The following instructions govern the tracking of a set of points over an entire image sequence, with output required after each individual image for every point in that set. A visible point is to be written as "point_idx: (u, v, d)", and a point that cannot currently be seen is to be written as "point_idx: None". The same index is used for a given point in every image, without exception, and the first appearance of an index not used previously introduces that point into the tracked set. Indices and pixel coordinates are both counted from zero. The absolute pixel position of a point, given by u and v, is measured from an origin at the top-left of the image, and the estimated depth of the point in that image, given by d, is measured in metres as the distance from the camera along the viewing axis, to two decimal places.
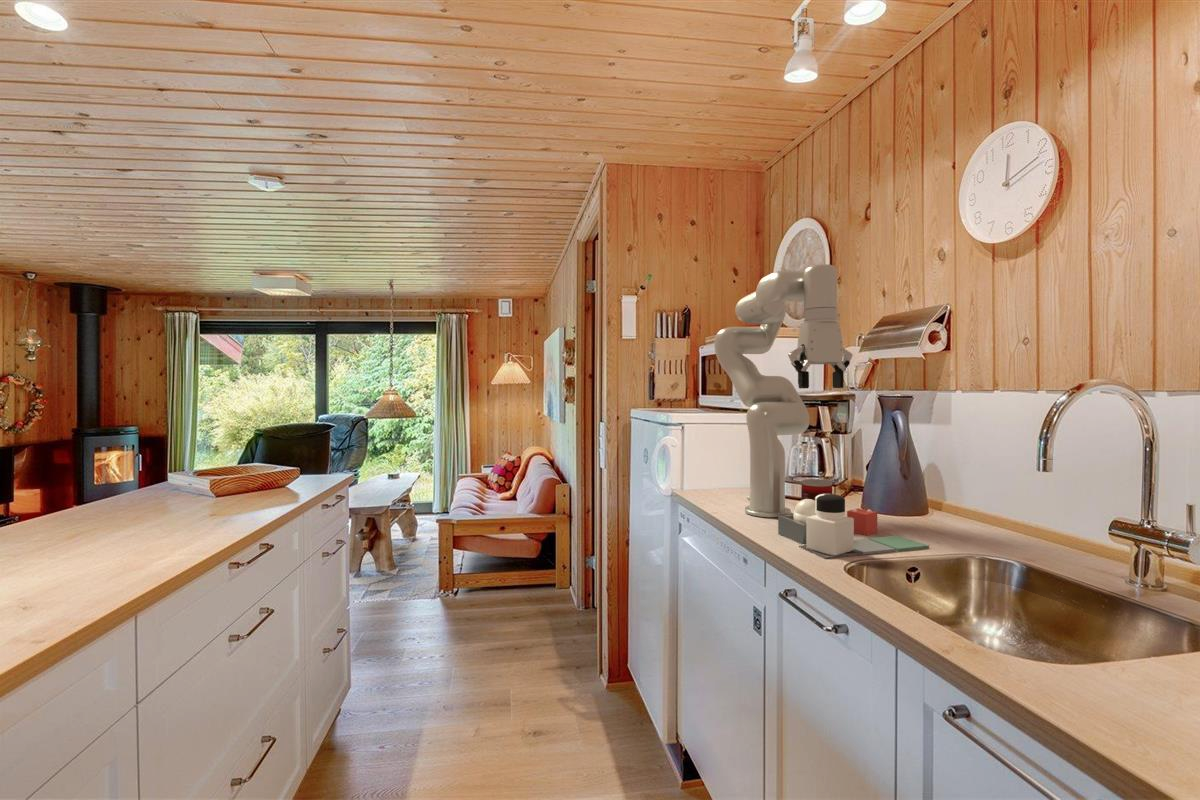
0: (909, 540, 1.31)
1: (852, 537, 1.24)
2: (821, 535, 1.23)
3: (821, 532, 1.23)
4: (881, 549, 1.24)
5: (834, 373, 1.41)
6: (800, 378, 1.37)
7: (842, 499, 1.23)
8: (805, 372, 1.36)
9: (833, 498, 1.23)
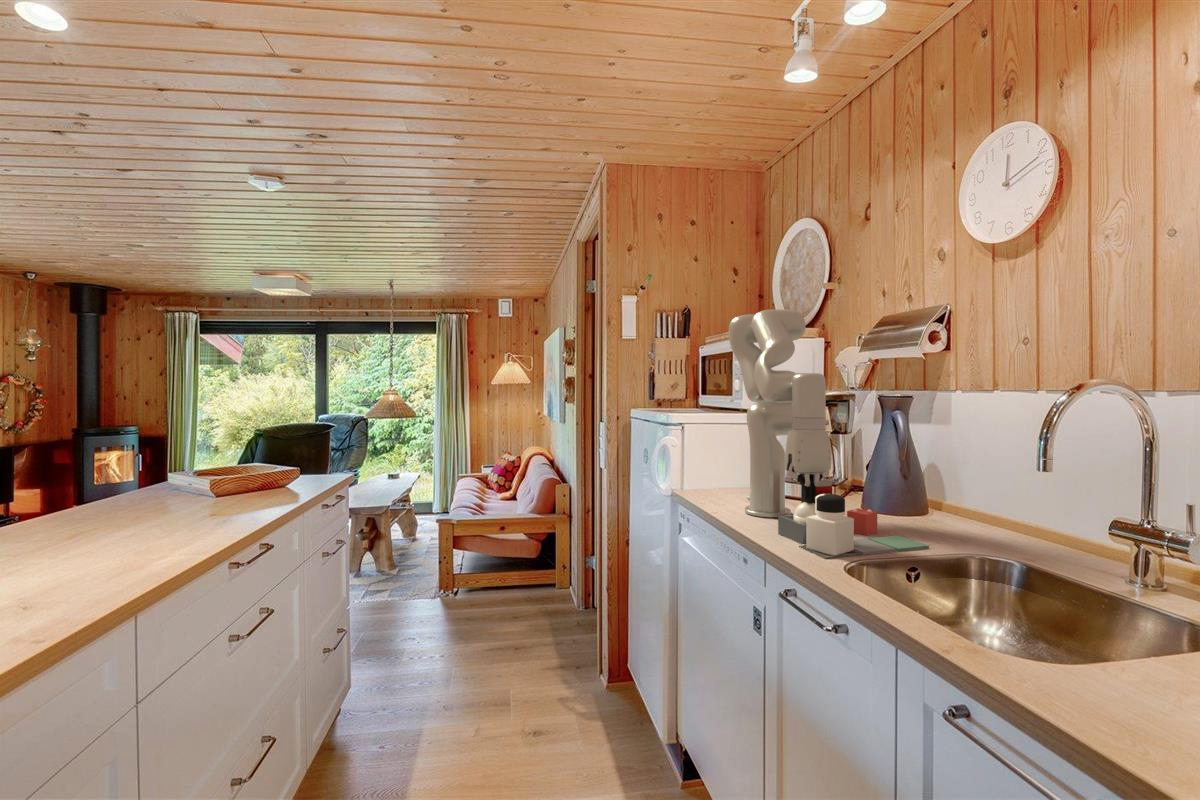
0: (909, 540, 1.31)
1: (852, 537, 1.24)
2: (821, 535, 1.23)
3: (821, 532, 1.23)
4: (881, 549, 1.24)
5: None
6: (803, 492, 1.36)
7: (842, 499, 1.23)
8: (808, 487, 1.35)
9: (833, 498, 1.23)
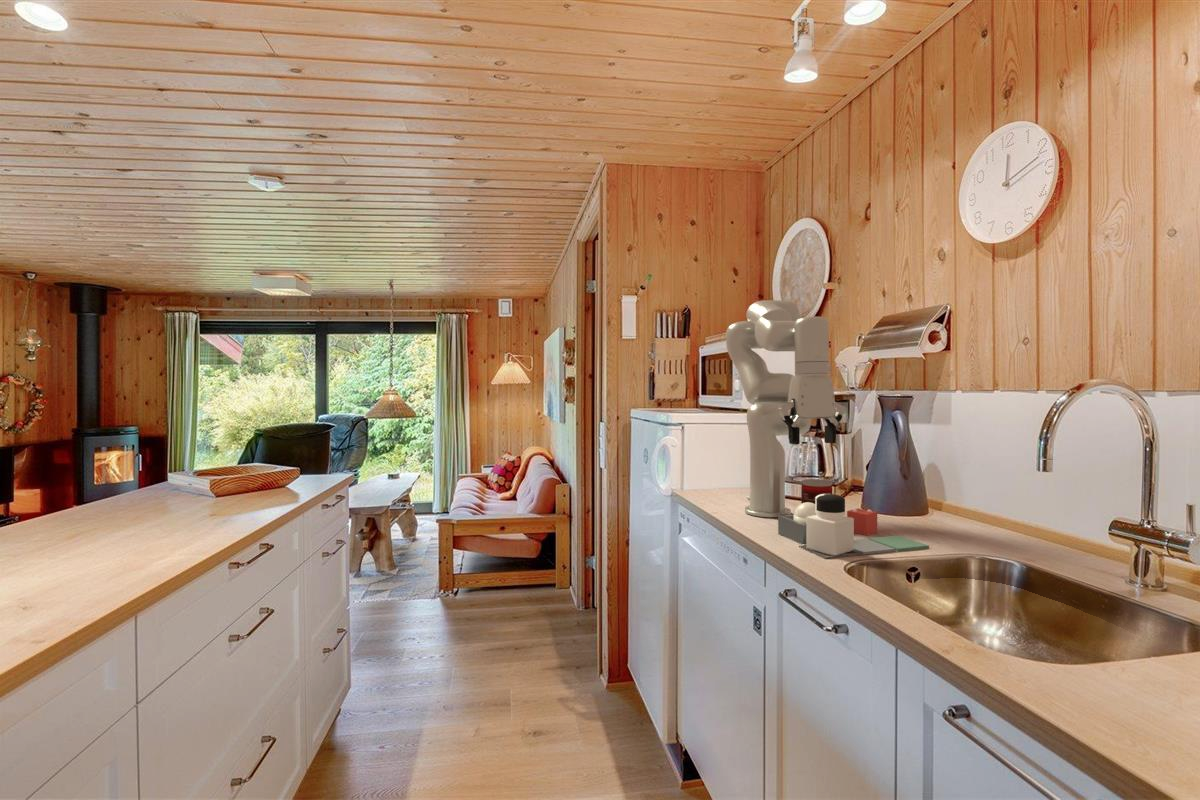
0: (909, 540, 1.31)
1: (852, 537, 1.24)
2: (821, 535, 1.23)
3: (821, 532, 1.23)
4: (881, 549, 1.24)
5: (826, 427, 1.36)
6: (790, 434, 1.32)
7: (842, 499, 1.23)
8: (796, 428, 1.32)
9: (833, 498, 1.23)
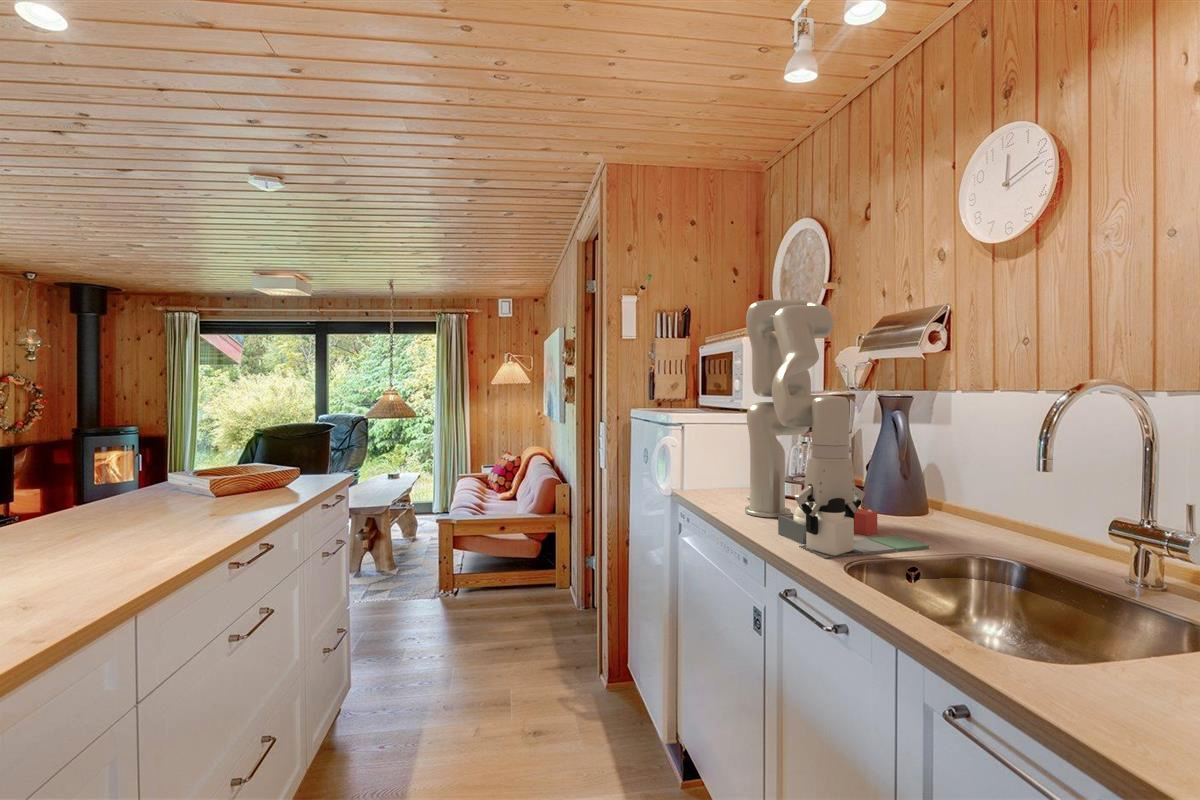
0: (909, 540, 1.31)
1: (852, 537, 1.24)
2: (821, 535, 1.23)
3: (821, 532, 1.23)
4: (881, 549, 1.24)
5: None
6: (808, 523, 1.24)
7: (842, 499, 1.23)
8: (814, 517, 1.23)
9: None
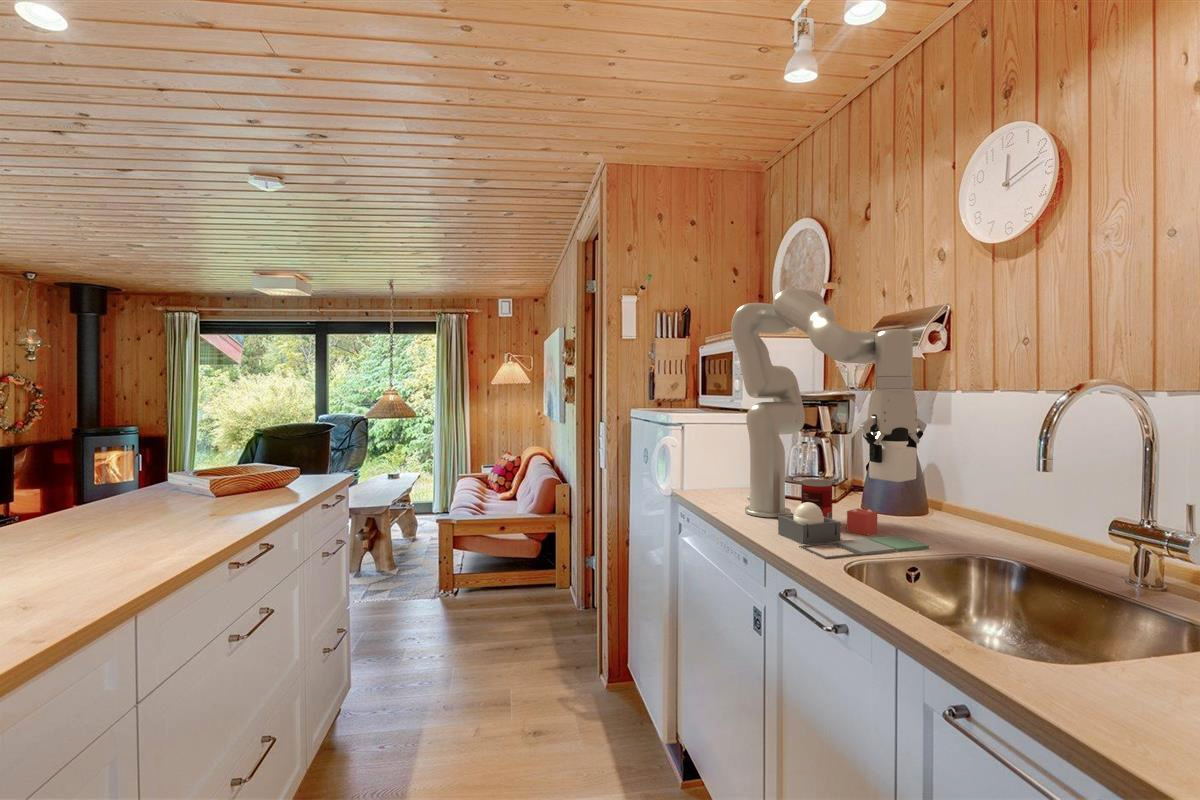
0: (909, 540, 1.31)
1: (915, 466, 1.28)
2: (885, 463, 1.27)
3: (885, 461, 1.27)
4: (881, 549, 1.24)
5: None
6: (872, 451, 1.28)
7: (906, 429, 1.27)
8: (878, 445, 1.27)
9: None
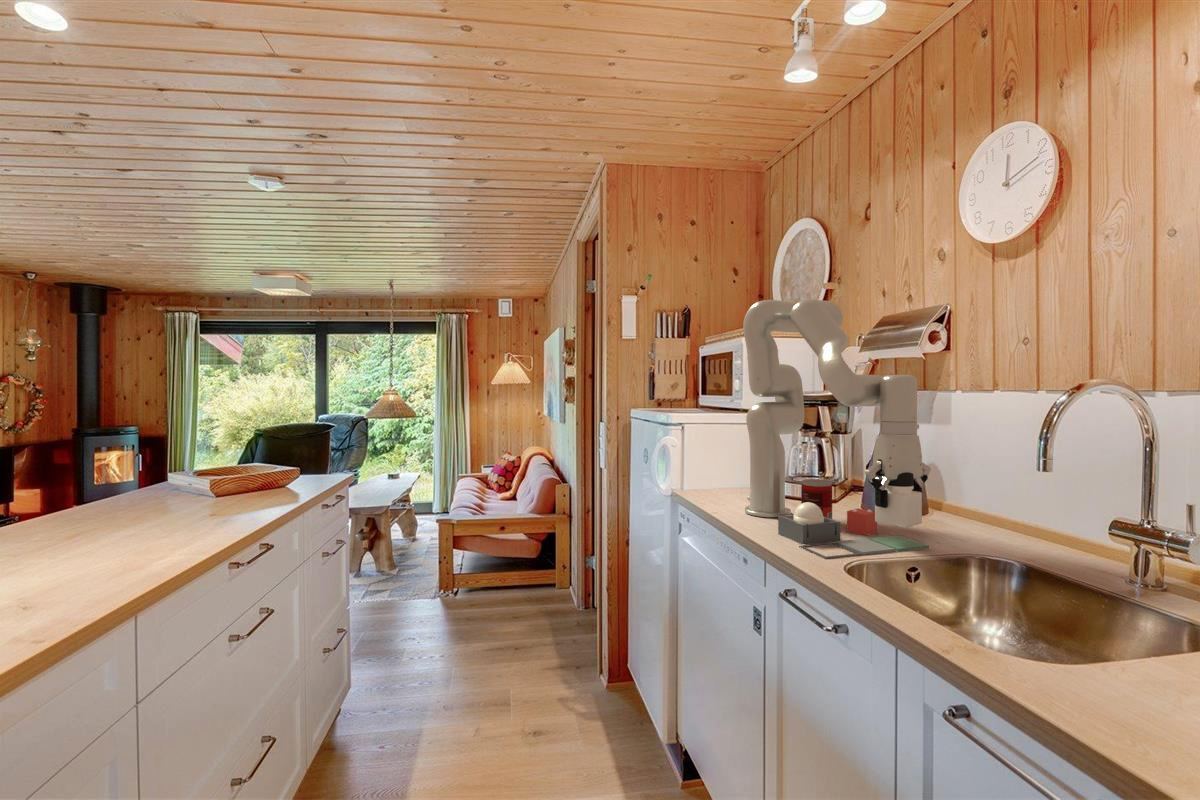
0: (909, 540, 1.31)
1: (920, 510, 1.29)
2: (891, 508, 1.28)
3: (891, 506, 1.28)
4: (881, 549, 1.24)
5: None
6: (878, 496, 1.28)
7: (911, 474, 1.28)
8: (884, 491, 1.28)
9: None
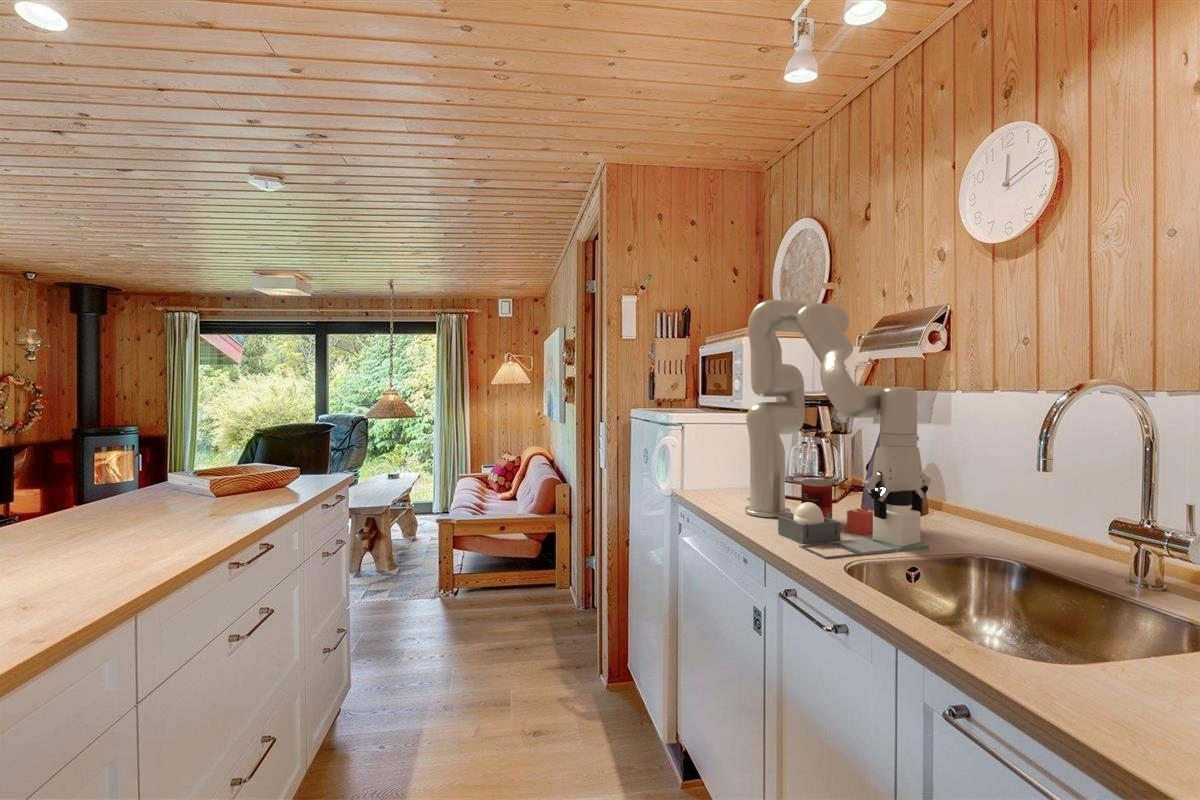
0: None
1: (919, 530, 1.29)
2: (888, 527, 1.28)
3: (888, 524, 1.28)
4: (881, 549, 1.24)
5: None
6: (877, 507, 1.28)
7: (909, 493, 1.28)
8: (882, 502, 1.28)
9: (900, 492, 1.28)
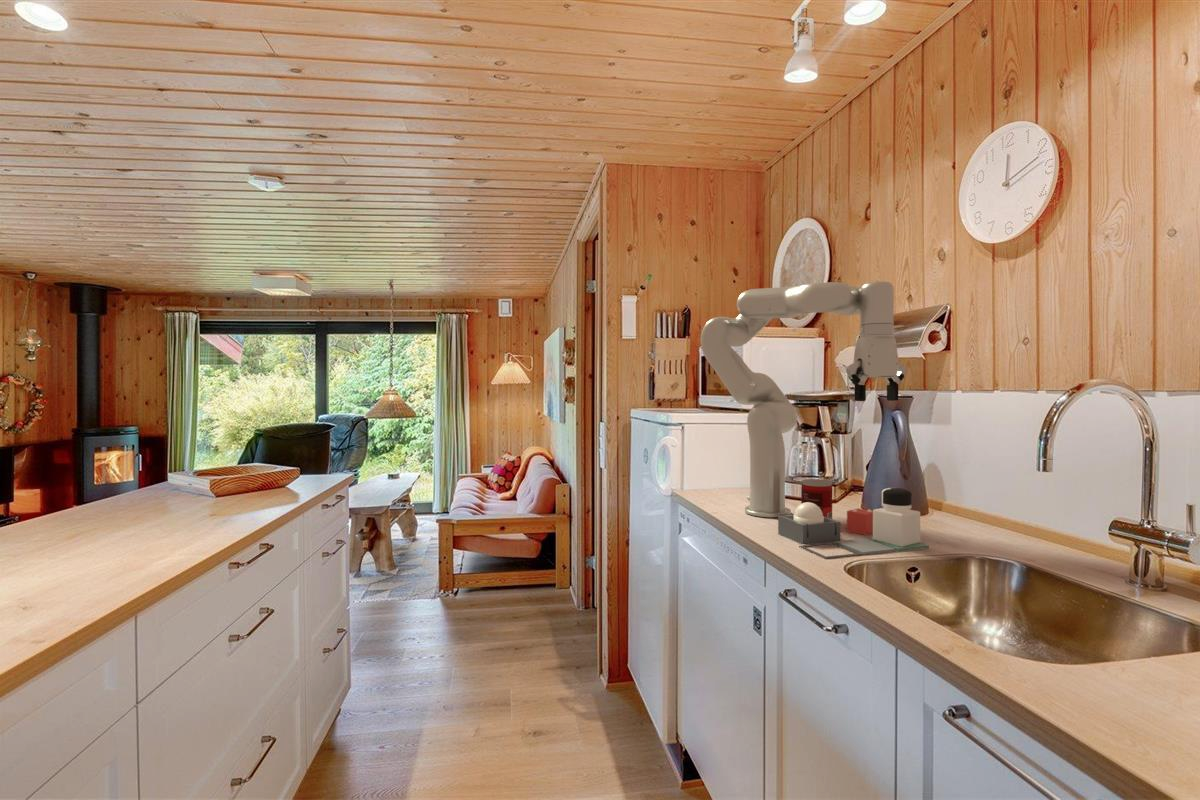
0: None
1: (918, 530, 1.29)
2: (888, 527, 1.28)
3: (888, 525, 1.28)
4: (881, 549, 1.24)
5: (889, 386, 1.45)
6: (857, 391, 1.42)
7: (909, 493, 1.28)
8: (862, 386, 1.41)
9: (900, 492, 1.28)
